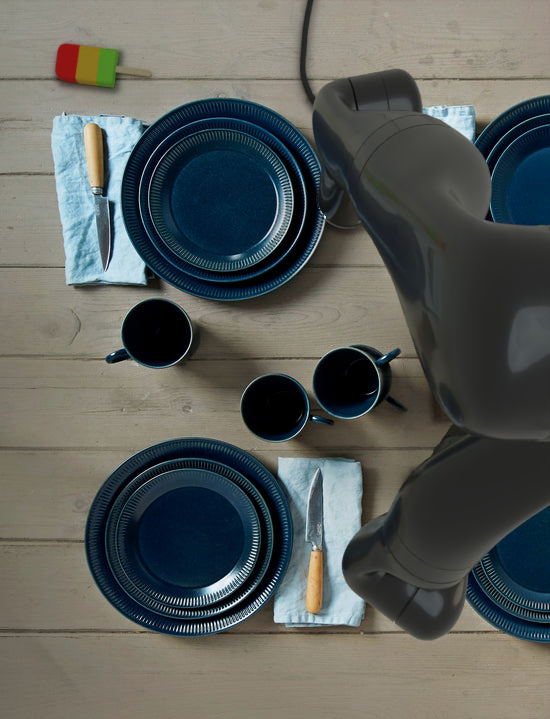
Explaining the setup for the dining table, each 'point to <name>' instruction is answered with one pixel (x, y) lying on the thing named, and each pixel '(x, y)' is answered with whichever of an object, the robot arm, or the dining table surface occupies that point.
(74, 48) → the popsicle
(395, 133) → the robot arm
